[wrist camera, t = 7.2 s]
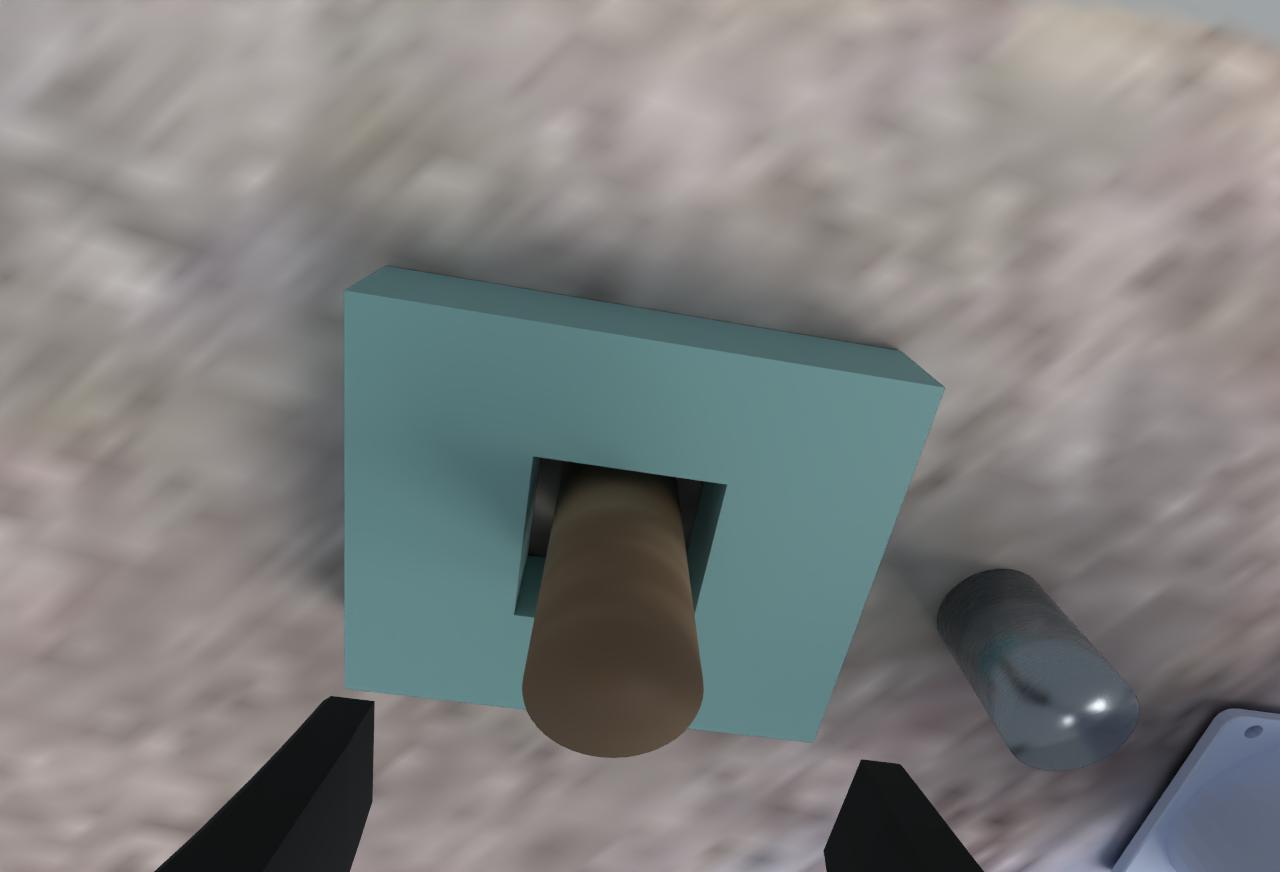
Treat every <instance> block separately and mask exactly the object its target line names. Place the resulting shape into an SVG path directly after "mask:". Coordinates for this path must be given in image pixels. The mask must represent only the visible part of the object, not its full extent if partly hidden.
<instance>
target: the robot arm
mask: <svg viewBox="0 0 1280 872" xmlns="http://www.w3.org/2000/svg"><path fill="white" fill-rule="evenodd" d="M373 745H374V701H368V700H359V699H351V698H342V697H334V696H330V697H329V698H327V699H326V700H324V701H323V702H322V703H321V704H320V705H319V706H318V707H317V709H316V710H315V711H314V712H313V713H312V714H311V715H310V716H309V718H308V719H307V720H306V721H305V722H304V723H303V724H302V725H301V726H300V727H299V729H298V730H297V731H296V732H295V733H294V734H293V735H292V736H291V737H290V738H289V739H288V741H287V742H286V743H285V744H284V745H283V746H282V747H281V748H280V749H279V750H278V751H277V752H276V753H275V754H274V755H273V756H272V758H271V759H270V760H269V761H268V762H267V763H266V764H265V765H264V766H263V767H262V768H261V769H260V770H259V771H258V772H257V773H256V774H255V775H254V776H253V777H252V778H251V779H250V780H249V781H248V782H247V783H246V784H245V785H244V786H243V787H242V788H241V789H240V790H239V791H238V792H237V793H236V794H235V795H234V796H233V797H232V798H231V799H230V800H229V801H228V802H227V803H226V804H225V805H224V806H223V807H222V808H221V809H220V810H219V811H218V812H217V813H216V814H215V815H214V816H213V817H212V818H211V819H210V820H209V821H208V822H207V823H206V824H205V825H204V826H203V827H202V828H201V829H200V830H199V831H198V832H197V833H196V834H195V835H194V836H192V837H191V838H190V839H189V840H188V841H187V842H186V843H185V844H184V845H183V846H182V847H181V848H180V849H178V850H177V851H176V852H175V853H174V854H173V855H172V856H171V857H170V858H169V859H168V860H166V861H165V862H164V863H163V864H162V865H161V866H160V867H159V868H158V869H157V870H155V871H154V872H350V869H351V866H352V863H353V860H354V857H355V854H356V851H357V848H358V845H359V842H360V839H361V836H362V832H363V829H364V826H365V823H366V820H367V817H368V813H369V810H370V807H371V804H372V791H373ZM824 856H825V863H826V870H827V872H984V871H983V870H982V869H981V867H980V866H979V865H978V864H977V862H976V861H975V860H974V858H973V857H972V856H971V855H970V853H969V852H968V851H967V849H966V848H965V847H964V846H963V844H962V843H961V842H960V840H959V839H958V838H957V837H956V835H955V834H954V833H953V831H952V830H951V829H950V828H949V826H948V825H947V824H946V822H945V821H944V820H943V818H942V817H941V816H940V815H939V813H938V812H937V811H936V809H935V808H934V807H933V805H932V804H931V803H930V801H929V800H928V799H927V798H926V796H925V795H924V794H923V792H922V791H921V790H920V789H919V787H918V786H917V785H916V783H915V782H914V781H913V780H912V778H911V777H910V776H909V774H908V773H907V772H906V771H905V769H904V768H903V767H902V766H901V764H895V763H887V762H878V761H870V760H861V761H860V764H859V766H858V769H857V771H856V773H855V776H854V778H853V781H852V783H851V786H850V788H849V790H848V793H847V795H846V798H845V800H844V803H843V805H842V807H841V810H840V812H839V815H838V817H837V820H836V822H835V824H834V827H833V829H832V832H831V834H830V836H829V839H828V841H827V844H826V846H825V849H824ZM1111 872H1280V714H1276V713H1268V712H1260V711H1252V710H1245V709H1227V710H1224V711H1222V712H1220V713H1219V714H1218V715H1217V716H1216V717H1215V718H1214V719H1213V721H1212V722H1211V723H1210V725H1209V726H1208V728H1207V729H1206V731H1205V732H1204V734H1203V735H1202V737H1201V738H1200V740H1199V741H1198V743H1197V744H1196V746H1195V747H1194V749H1193V750H1192V752H1191V753H1190V755H1189V756H1188V757H1187V759H1186V760H1185V762H1184V763H1183V765H1182V766H1181V768H1180V769H1179V771H1178V772H1177V774H1176V775H1175V777H1174V778H1173V780H1172V781H1171V783H1170V784H1169V786H1168V787H1167V789H1166V790H1165V791H1164V793H1163V794H1162V796H1161V797H1160V799H1159V800H1158V802H1157V803H1156V805H1155V806H1154V808H1153V809H1152V811H1151V812H1150V814H1149V815H1148V817H1147V818H1146V820H1145V821H1144V823H1143V824H1142V825H1141V827H1140V828H1139V830H1138V831H1137V833H1136V834H1135V836H1134V837H1133V839H1132V840H1131V842H1130V843H1129V845H1128V846H1127V848H1126V849H1125V851H1124V852H1123V854H1122V855H1121V857H1120V858H1119V860H1118V861H1117V862H1116V864H1115V865H1114V867H1113V869H1112V871H1111Z"/></svg>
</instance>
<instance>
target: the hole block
mask: <svg viewBox="0 0 1280 872" xmlns="http://www.w3.org/2000/svg"><path fill="white" fill-rule="evenodd" d="M944 390H945V387H944V386H943V385H941V384H940V383H939V382H938V381H937V380H935V379H934V378H933V377H932V376H931V375H929V374H928V373H927V372H926V371H925V370H923V369H922V368H921V367H920V366H919V365H917V364H916V363H915V362H914V361H913V360H911V359H910V358H909V357H908V356H907V355H905V354H904V353H903V352H902V351H898V350H892V349H886V348H880V347H874V346H868V345H862V344H855V343H849V342H843V341H837V340H831V339H825V338H819V337H813V336H807V335H801V334H795V333H789V332H783V331H777V330H771V329H765V328H759V327H753V326H747V325H741V324H735V323H729V322H723V321H716V320H710V319H704V318H698V317H692V316H686V315H680V314H674V313H668V312H662V311H656V310H650V309H644V308H638V307H632V306H626V305H620V304H614V303H608V302H602V301H596V300H590V299H584V298H578V297H571V296H565V295H559V294H553V293H547V292H541V291H535V290H529V289H523V288H517V287H511V286H505V285H499V284H493V283H487V282H481V281H475V280H469V279H463V278H457V277H451V276H445V275H439V274H432V273H426V272H420V271H414V270H408V269H402V268H396V267H390V266H385V267H383V268H381V269H380V270H378V271H376V272H374V273H373V274H371V275H369V276H368V277H366V278H364V279H362V280H361V281H359V282H357V283H356V284H354V285H352V286H351V287H349V288H347V289H345V290H344V584H345V689H352V690H361V691H370V692H378V693H387V694H395V695H404V696H413V697H421V698H430V699H438V700H447V701H456V702H464V703H473V704H482V705H490V706H499V707H507V708H516V709H525V710H526V707H525V704H524V701H523V695H522V682H523V675H524V670H525V665H526V660H527V654H528V649H529V644H530V639H531V633H532V628H533V623H534V618H535V613H536V607H537V602H538V597H539V592H540V586H541V581H542V576H543V571H544V565H545V560H546V557H539V556H532V555H528V551H529V543H530V535H531V527H532V519H533V511H534V503H535V495H536V487H537V479H538V471H539V463H540V457H541V458H548V459H555V460H562V461H569V462H575V463H582V464H589V465H596V466H603V467H610V468H616V469H623V470H630V471H637V472H644V473H651V474H658V475H664V476H671V477H678V478H685V479H692V480H699V481H704V483H703V487H702V492H701V496H700V500H699V504H698V509H697V513H696V517H695V521H694V526H693V530H692V534H691V539H690V543H689V547H688V551H687V563H688V570H689V578H690V585H691V593H692V600H693V608H694V615H695V623H696V630H697V638H698V645H699V653H700V660H701V668H702V676H703V686H704V692H703V700H702V703H701V707H700V709H699V711H698V713H697V715H696V717H695V719H694V720H693V722H692V723H691V725H690V726H689V727H688V729H697V730H705V731H714V732H723V733H731V734H740V735H748V736H757V737H766V738H774V739H783V740H792V741H800V742H809V743H814V740H815V737H816V735H817V732H818V729H819V727H820V724H821V721H822V719H823V716H824V713H825V710H826V708H827V705H828V702H829V700H830V697H831V694H832V692H833V689H834V686H835V683H836V681H837V678H838V675H839V673H840V670H841V667H842V665H843V662H844V659H845V657H846V654H847V651H848V648H849V646H850V643H851V640H852V638H853V635H854V632H855V630H856V627H857V624H858V621H859V619H860V616H861V613H862V611H863V608H864V605H865V603H866V600H867V597H868V594H869V592H870V589H871V586H872V584H873V581H874V578H875V576H876V573H877V570H878V568H879V565H880V562H881V559H882V557H883V554H884V551H885V549H886V546H887V543H888V541H889V538H890V535H891V532H892V530H893V527H894V524H895V522H896V519H897V516H898V514H899V511H900V508H901V506H902V503H903V500H904V497H905V495H906V492H907V489H908V487H909V484H910V481H911V479H912V476H913V473H914V470H915V468H916V465H917V462H918V460H919V457H920V454H921V452H922V449H923V446H924V444H925V441H926V438H927V435H928V433H929V430H930V427H931V425H932V422H933V419H934V417H935V414H936V411H937V408H938V406H939V403H940V400H941V398H942V395H943V392H944Z"/></svg>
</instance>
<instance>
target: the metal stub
mask: <svg viewBox="0 0 1280 872" xmlns="http://www.w3.org/2000/svg"><path fill="white" fill-rule="evenodd" d="M937 625H938V630H939V633H940V635H941V637H942V638H943V640H944V642H945V643H946V645H947V647H948V648H949V650H950V652H951V653H952V655H953V657H954V658H955V660H956V662H957V663H958V665H959V666H960V668H961V670H962V671H963V673H964V675H965V676H966V678H967V680H968V681H969V683H970V685H971V686H972V688H973V690H974V691H975V693H976V694H977V696H978V698H979V699H980V701H981V703H982V704H983V706H984V708H985V709H986V711H987V713H988V714H989V716H990V718H991V719H992V721H993V723H994V724H995V726H996V727H997V729H998V731H999V732H1000V734H1001V736H1002V737H1003V739H1004V741H1005V742H1006V744H1007V746H1008V747H1009V749H1010V751H1011V752H1012V753H1013V755H1014V756H1015V757H1016V758H1017V759H1018V760H1019V761H1021V762H1022V763H1024V764H1026V765H1028V766H1030V767H1033V768H1037V769H1041V770H1047V771H1064V770H1072V769H1076V768H1081V767H1084V766H1087V765H1090V764H1092V763H1095V762H1097V761H1099V760H1101V759H1103V758H1105V757H1107V756H1108V755H1110V754H1111V753H1113V752H1114V751H1115V750H1117V749H1118V748H1119V747H1120V746H1121V745H1122V744H1124V742H1125V741H1126V740H1127V739H1128V738H1129V737H1130V735H1131V734H1132V732H1133V731H1134V729H1135V727H1136V725H1137V722H1138V719H1139V713H1140V707H1139V702H1138V699H1137V697H1136V695H1135V693H1134V692H1133V690H1132V689H1131V688H1130V687H1129V686H1128V685H1127V684H1126V682H1125V681H1124V680H1123V679H1122V678H1121V677H1120V676H1119V674H1118V673H1117V672H1116V671H1115V670H1114V669H1113V668H1112V667H1111V665H1110V664H1109V663H1108V662H1107V661H1106V660H1105V659H1104V658H1103V656H1102V655H1101V654H1100V653H1099V652H1098V651H1097V650H1096V649H1095V647H1094V646H1093V645H1092V644H1091V643H1090V642H1089V641H1088V639H1087V638H1086V637H1085V636H1084V635H1083V634H1082V633H1081V632H1080V630H1079V629H1078V628H1077V627H1076V626H1075V625H1074V624H1073V623H1072V621H1071V620H1070V619H1069V618H1068V617H1067V616H1066V615H1065V614H1064V612H1063V611H1062V610H1061V609H1060V608H1059V607H1058V606H1057V604H1056V603H1055V602H1054V601H1053V600H1052V599H1051V598H1050V597H1049V595H1048V594H1047V593H1046V592H1045V591H1044V590H1043V589H1042V588H1041V586H1040V585H1039V584H1038V583H1037V582H1036V581H1035V580H1034V579H1033V578H1031V577H1030V576H1028V575H1026V574H1024V573H1022V572H1019V571H1015V570H1009V569H995V570H989V571H985V572H981V573H978V574H975V575H973V576H971V577H969V578H967V579H965V580H964V581H962V582H961V583H959V584H958V585H957V586H955V587H954V588H953V589H952V590H951V591H950V592H949V594H948V595H947V596H946V597H945V599H944V600H943V602H942V604H941V606H940V609H939V612H938V617H937Z"/></svg>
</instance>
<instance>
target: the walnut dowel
mask: <svg viewBox="0 0 1280 872" xmlns="http://www.w3.org/2000/svg"><path fill="white" fill-rule="evenodd" d="M703 692H704V686H703V676H702V668H701V660H700V653H699V645H698V638H697V630H696V623H695V615H694V608H693V600H692V593H691V585H690V578H689V570H688V563H687V555H686V548H685V540H684V533H683V525H682V517H681V510H680V502H679V495H678V487H677V480H676V477H671V476H664V475H658V474H651V473H644V472H637V471H630V470H623V469H616V468H610V467H603V466H596V465H589V464H582V463H575V462H569V461H568V462H567V464H566V466H565V468H564V470H563V473H562V477H561V482H560V487H559V492H558V497H557V503H556V508H555V513H554V518H553V524H552V529H551V534H550V539H549V545H548V550H547V555H546V560H545V565H544V571H543V576H542V581H541V586H540V592H539V597H538V602H537V607H536V613H535V618H534V623H533V628H532V633H531V639H530V644H529V649H528V654H527V660H526V665H525V670H524V675H523V682H522V695H523V701H524V704H525V707H526V710H527V712H528V714H529V716H530V717H531V719H532V721H533V722H534V723H535V724H536V726H537V727H538V728H539V729H540V730H541V731H542V732H543V733H544V734H545V735H546V736H548V737H549V738H550V739H552V740H553V741H555V742H556V743H558V744H560V745H561V746H564V747H566V748H568V749H570V750H573V751H576V752H579V753H582V754H586V755H591V756H597V757H609V758H618V757H629V756H635V755H640V754H644V753H647V752H650V751H653V750H656V749H658V748H660V747H662V746H664V745H666V744H668V743H670V742H671V741H673V740H674V739H676V738H677V737H678V736H679V735H681V734H682V733H683V732H684V731H685V730H686V729H687V728H688V727H689V726H690V725H691V723H692V722H693V720H694V719H695V717H696V715H697V713H698V711H699V709H700V707H701V703H702V700H703Z"/></svg>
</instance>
